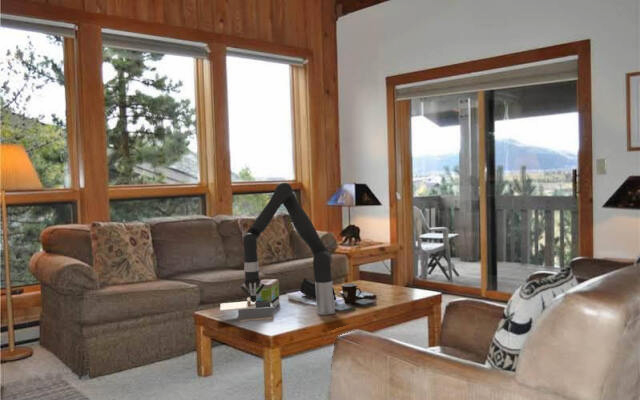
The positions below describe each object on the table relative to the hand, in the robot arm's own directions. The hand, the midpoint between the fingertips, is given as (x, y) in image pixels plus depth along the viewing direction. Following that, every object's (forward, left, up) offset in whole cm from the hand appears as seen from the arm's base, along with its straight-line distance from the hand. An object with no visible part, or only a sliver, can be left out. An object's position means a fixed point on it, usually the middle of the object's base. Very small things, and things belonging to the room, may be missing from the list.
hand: (253, 301), depth 299 cm
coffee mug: (-56, -11, -8) cm, 57 cm away
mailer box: (-1, 0, -8) cm, 8 cm away
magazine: (-39, -27, -8) cm, 48 cm away
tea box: (-9, -19, -8) cm, 22 cm away
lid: (+8, 0, -2) cm, 9 cm away
